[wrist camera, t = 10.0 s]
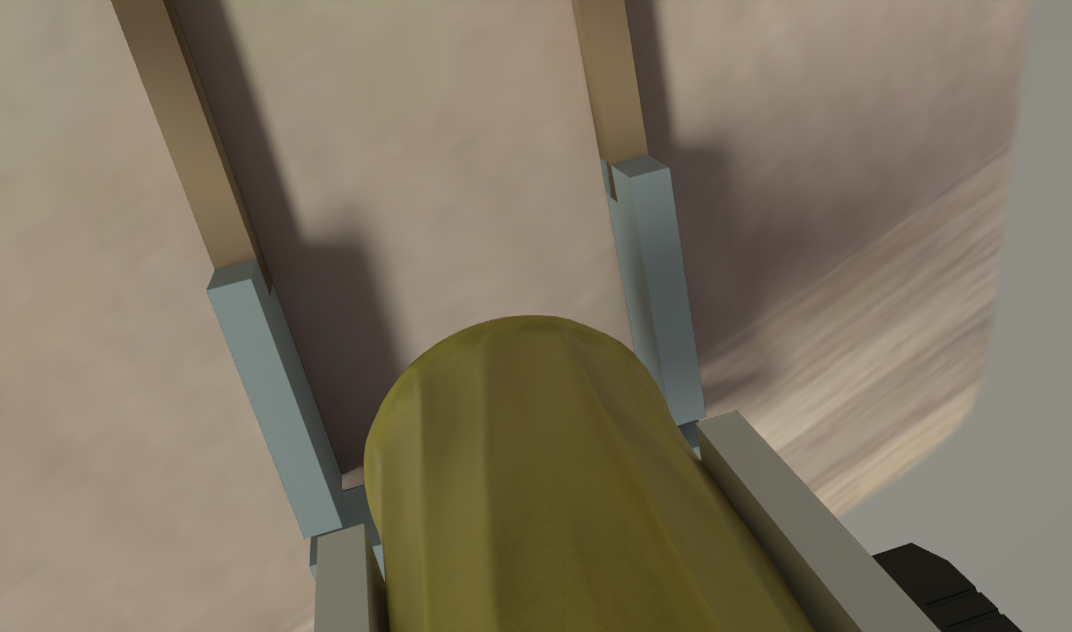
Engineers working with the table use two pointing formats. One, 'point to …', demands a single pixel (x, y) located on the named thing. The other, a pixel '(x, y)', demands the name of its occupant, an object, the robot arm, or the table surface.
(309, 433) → the socket
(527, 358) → the vase
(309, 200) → the table surface
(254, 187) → the table surface
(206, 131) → the channel
